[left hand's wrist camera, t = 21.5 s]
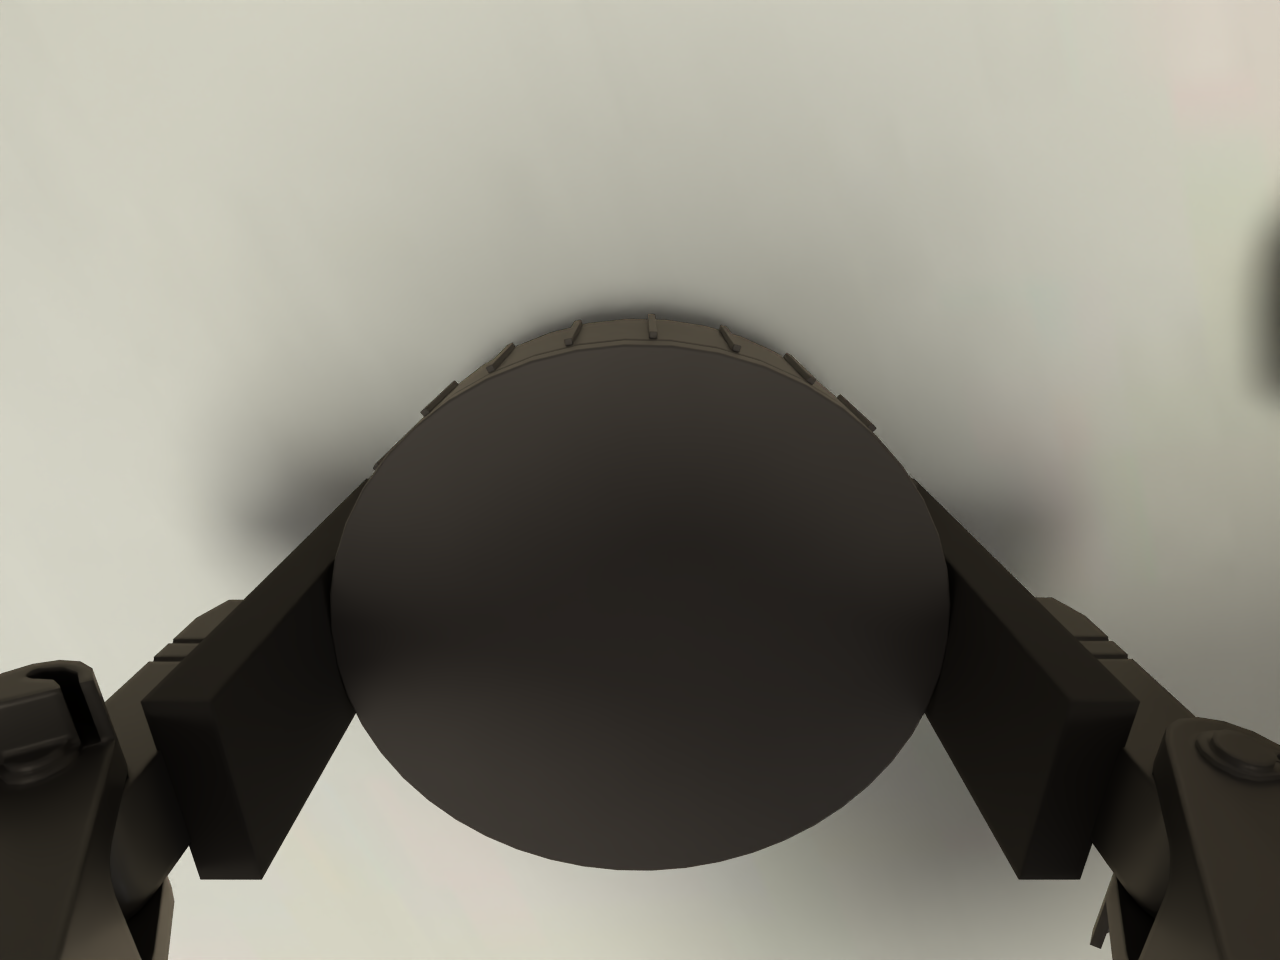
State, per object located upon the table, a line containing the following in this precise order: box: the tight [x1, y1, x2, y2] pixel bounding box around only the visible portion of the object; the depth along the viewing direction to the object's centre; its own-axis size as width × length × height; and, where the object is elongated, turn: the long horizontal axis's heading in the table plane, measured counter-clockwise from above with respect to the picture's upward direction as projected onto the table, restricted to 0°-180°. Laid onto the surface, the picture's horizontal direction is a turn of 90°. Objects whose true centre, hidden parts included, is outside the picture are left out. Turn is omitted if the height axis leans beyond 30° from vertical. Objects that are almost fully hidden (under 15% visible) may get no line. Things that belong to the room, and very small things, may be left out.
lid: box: [330, 314, 951, 870], centre depth 11 cm, size 9×10×2 cm
